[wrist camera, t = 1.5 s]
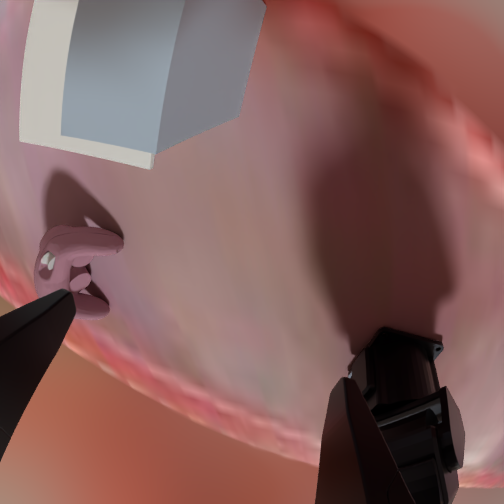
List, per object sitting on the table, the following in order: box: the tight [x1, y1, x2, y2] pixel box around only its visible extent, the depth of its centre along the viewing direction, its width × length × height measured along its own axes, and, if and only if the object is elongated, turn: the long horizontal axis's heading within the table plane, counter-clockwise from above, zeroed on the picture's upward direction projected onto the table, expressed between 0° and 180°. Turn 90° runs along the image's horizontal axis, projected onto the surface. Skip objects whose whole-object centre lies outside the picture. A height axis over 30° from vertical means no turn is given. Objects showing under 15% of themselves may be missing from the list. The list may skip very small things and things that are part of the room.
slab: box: [61, 0, 267, 154], centre depth 11 cm, size 4×7×10 cm, turn 167°
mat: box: [19, 0, 155, 170], centre depth 16 cm, size 14×16×1 cm
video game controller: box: [34, 225, 124, 320], centre depth 23 cm, size 10×5×7 cm, turn 154°
